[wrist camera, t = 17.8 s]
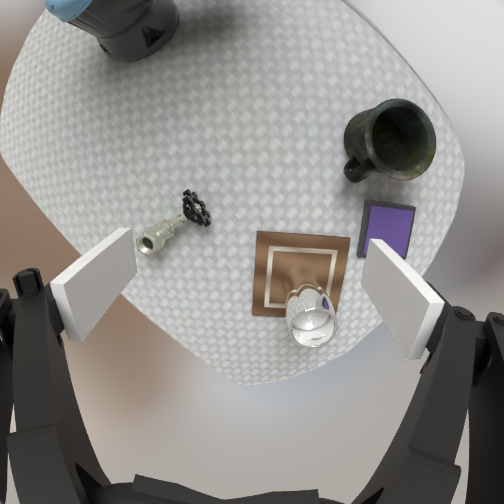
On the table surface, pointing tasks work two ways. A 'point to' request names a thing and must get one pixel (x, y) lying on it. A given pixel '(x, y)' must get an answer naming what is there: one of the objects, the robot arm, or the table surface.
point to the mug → (389, 141)
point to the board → (291, 253)
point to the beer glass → (308, 308)
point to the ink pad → (386, 226)
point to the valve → (173, 224)
